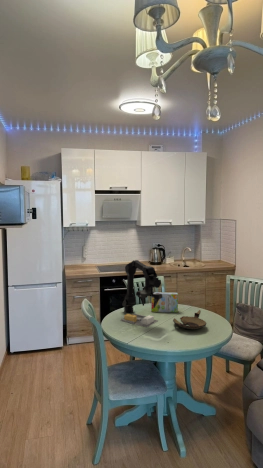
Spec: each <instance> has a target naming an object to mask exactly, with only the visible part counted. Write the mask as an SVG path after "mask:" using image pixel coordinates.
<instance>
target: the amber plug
mask: <svg viewBox="0 0 263 468" xmlns="http://www.w3.org/2000/svg"><path fill="white" fill-rule="evenodd" d="M123 319H125V320H129V321H133V322H136V321H137V316H135V315H133V314H132V313H126V314H124V315H123Z"/></svg>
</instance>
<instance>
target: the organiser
mask: <svg viewBox="0 0 263 468" xmlns="http://www.w3.org/2000/svg"><path fill="white" fill-rule="evenodd" d="M132 315H135V316H137V321H136V322H133V321H129V320H125V319H124V318H121V319H120V322H125V323H128V324H133V325H136V326H141V327H143V328H149V327H150V326H152V325H154V324H155V323H157V322H159V320H157V319H154V322H152V323H150V324H149V325H146V324H143V318H144V317H146V316H147V315H143V314H142V315H141V314H138V313H133V314H132Z"/></svg>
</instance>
